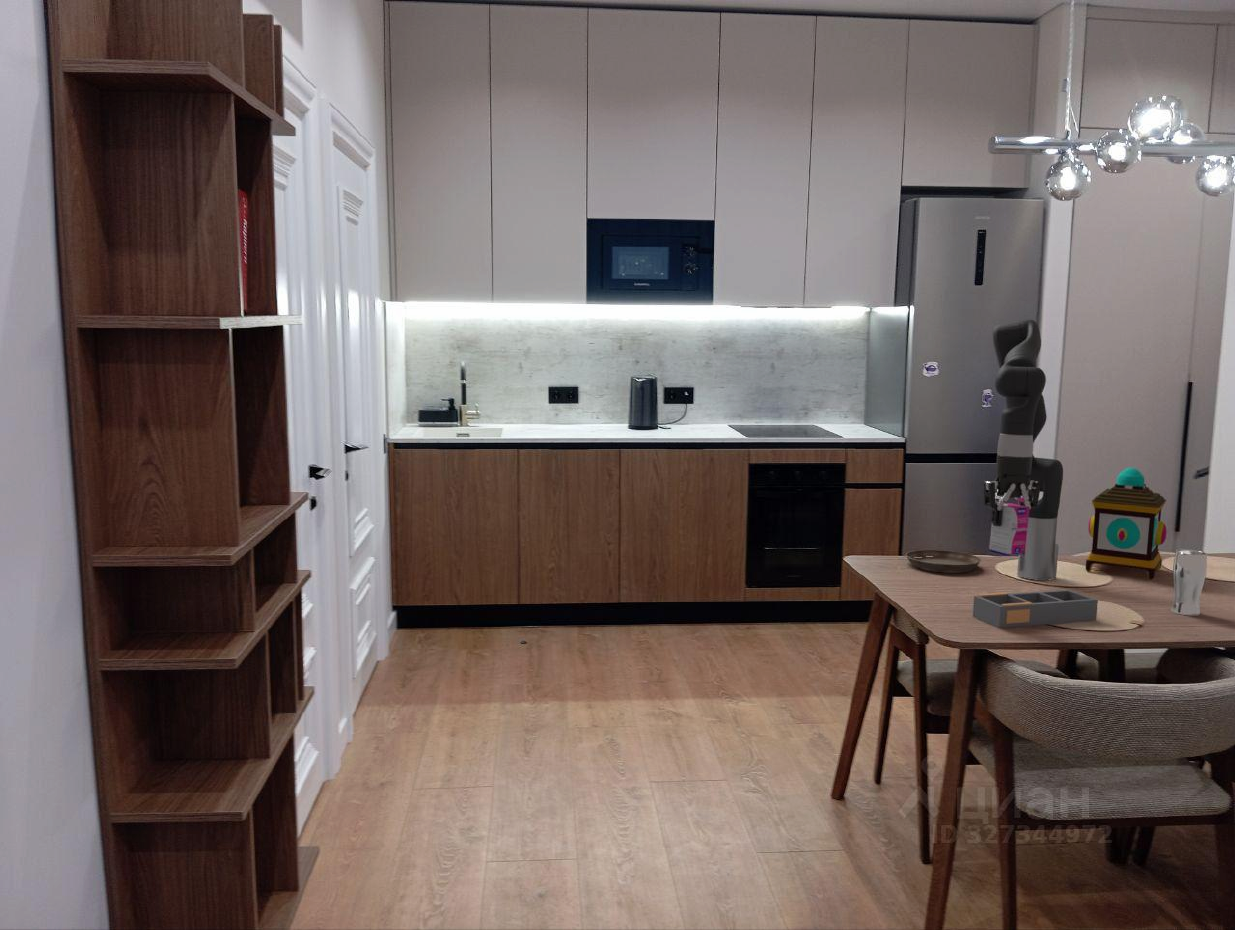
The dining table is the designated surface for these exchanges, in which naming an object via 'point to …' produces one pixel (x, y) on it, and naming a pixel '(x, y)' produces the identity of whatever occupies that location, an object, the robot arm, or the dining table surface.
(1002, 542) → the supplement box
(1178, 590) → the beer glass
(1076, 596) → the rack
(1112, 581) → the dining table surface
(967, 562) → the plant saucer
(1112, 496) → the decorative lantern
